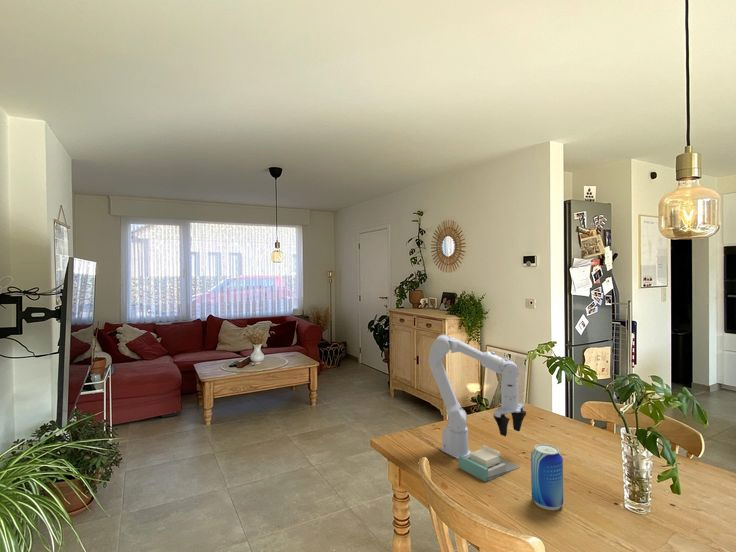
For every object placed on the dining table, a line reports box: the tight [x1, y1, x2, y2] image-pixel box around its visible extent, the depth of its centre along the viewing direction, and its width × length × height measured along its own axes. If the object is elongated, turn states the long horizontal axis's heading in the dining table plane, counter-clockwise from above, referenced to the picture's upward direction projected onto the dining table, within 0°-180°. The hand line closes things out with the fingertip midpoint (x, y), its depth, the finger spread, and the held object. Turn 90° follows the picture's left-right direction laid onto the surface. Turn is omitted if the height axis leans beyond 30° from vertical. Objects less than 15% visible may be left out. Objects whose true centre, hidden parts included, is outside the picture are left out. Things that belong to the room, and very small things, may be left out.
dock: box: [458, 455, 521, 483], centre depth 138 cm, size 12×18×5 cm
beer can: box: [530, 443, 564, 511], centre depth 116 cm, size 8×8×16 cm
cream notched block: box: [470, 444, 501, 468], centre depth 137 cm, size 7×7×5 cm
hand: (510, 432), depth 144 cm, fingers open, 7 cm apart
